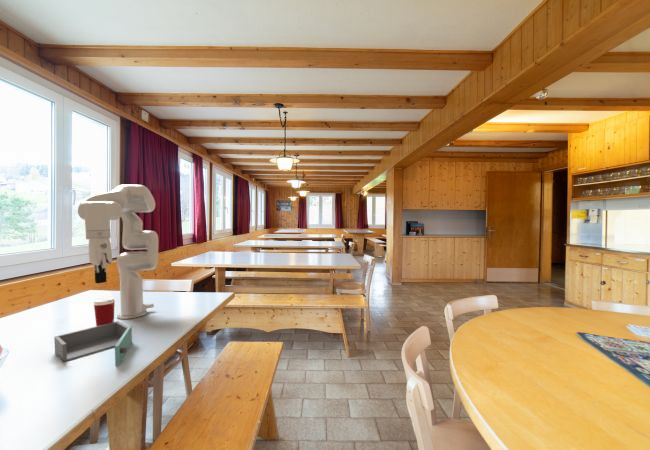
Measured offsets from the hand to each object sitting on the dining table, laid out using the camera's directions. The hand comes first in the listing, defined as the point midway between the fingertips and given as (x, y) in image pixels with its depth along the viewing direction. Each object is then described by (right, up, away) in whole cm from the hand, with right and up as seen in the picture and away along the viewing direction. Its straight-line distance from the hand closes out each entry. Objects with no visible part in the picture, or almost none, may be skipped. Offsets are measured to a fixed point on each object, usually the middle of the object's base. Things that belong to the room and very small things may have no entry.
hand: (100, 282), depth 117 cm
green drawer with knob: (+15, -24, -7) cm, 29 cm away
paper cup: (-8, -24, +14) cm, 29 cm away
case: (-1, -24, -2) cm, 24 cm away
